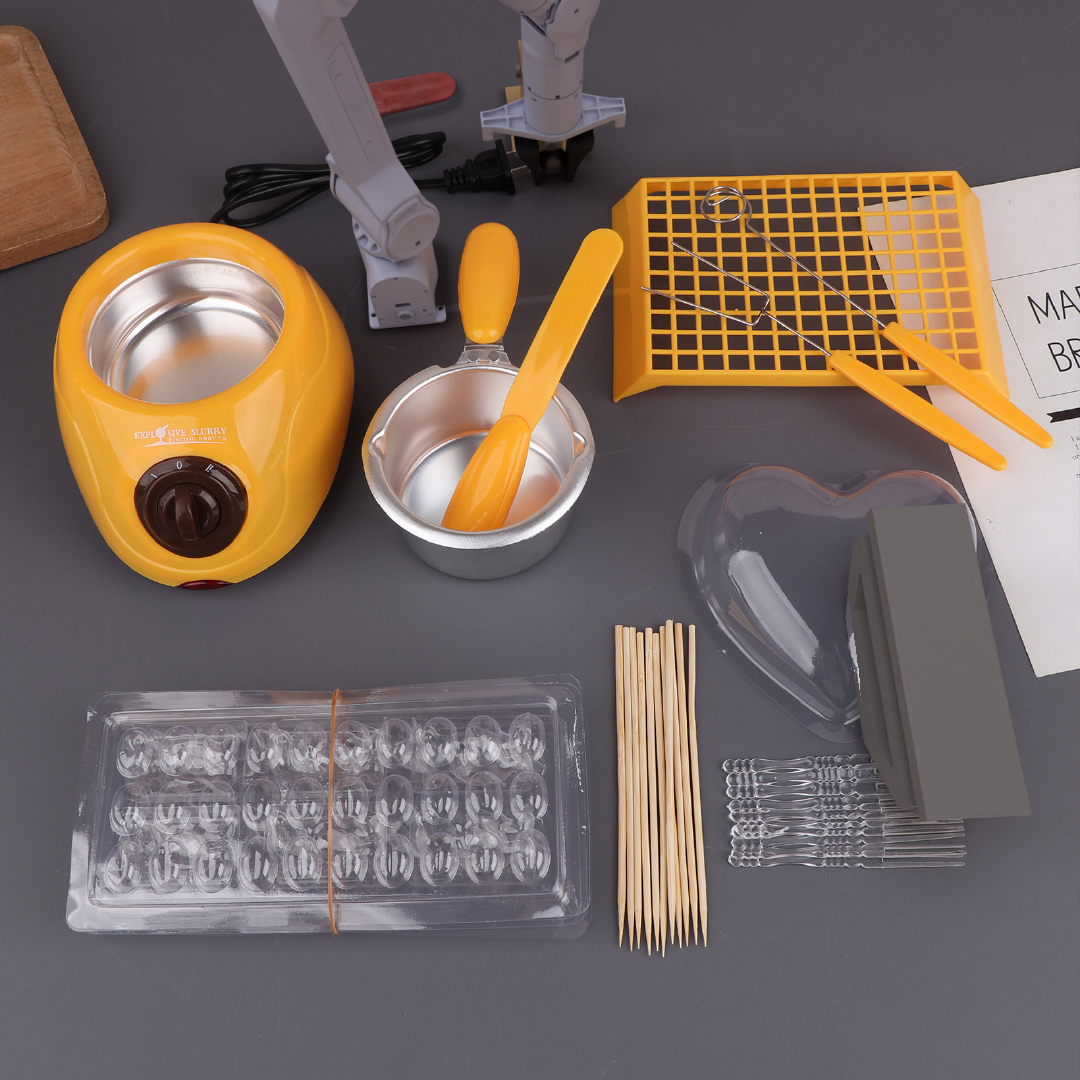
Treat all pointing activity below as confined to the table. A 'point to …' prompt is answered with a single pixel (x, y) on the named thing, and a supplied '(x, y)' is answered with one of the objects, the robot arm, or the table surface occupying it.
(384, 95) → the popsicle
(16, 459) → the table surface
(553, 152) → the knife lever
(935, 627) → the grey stepped block
